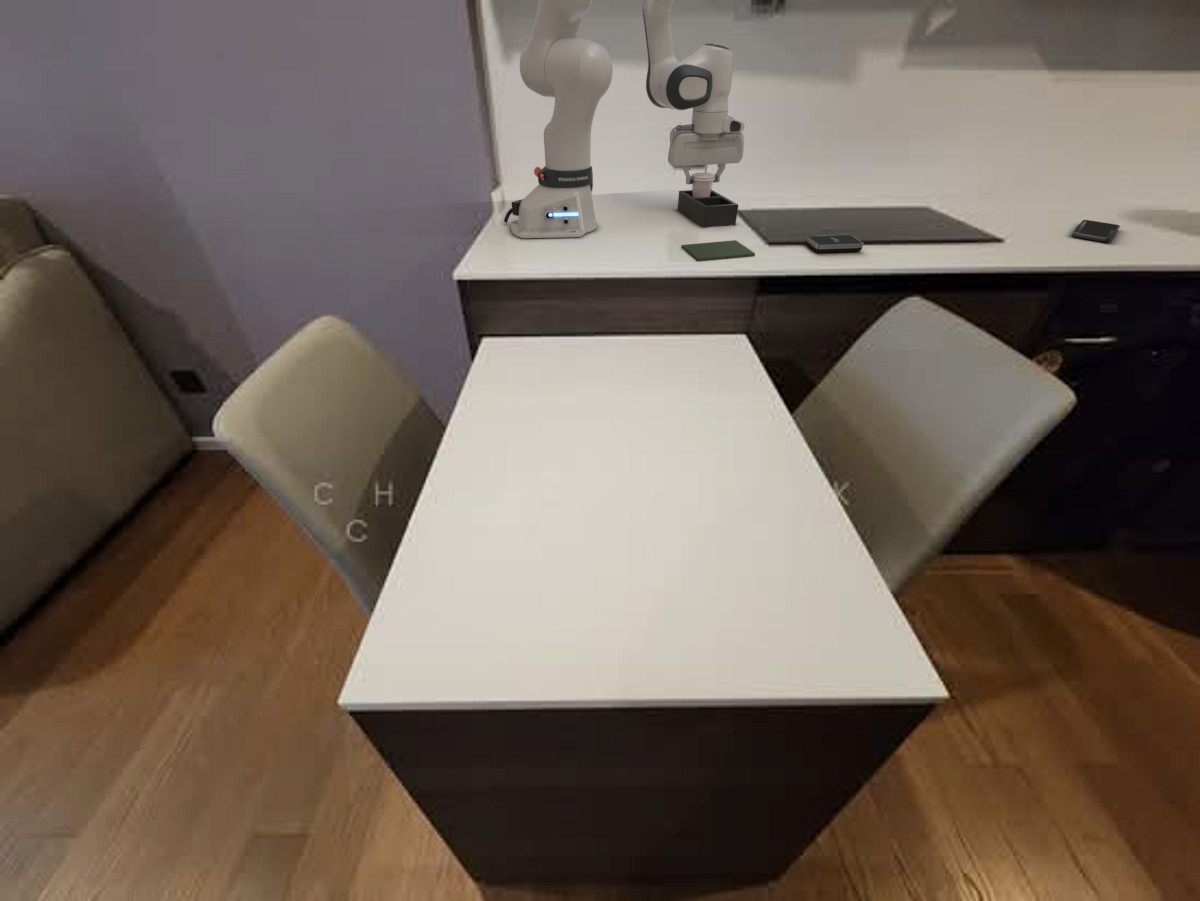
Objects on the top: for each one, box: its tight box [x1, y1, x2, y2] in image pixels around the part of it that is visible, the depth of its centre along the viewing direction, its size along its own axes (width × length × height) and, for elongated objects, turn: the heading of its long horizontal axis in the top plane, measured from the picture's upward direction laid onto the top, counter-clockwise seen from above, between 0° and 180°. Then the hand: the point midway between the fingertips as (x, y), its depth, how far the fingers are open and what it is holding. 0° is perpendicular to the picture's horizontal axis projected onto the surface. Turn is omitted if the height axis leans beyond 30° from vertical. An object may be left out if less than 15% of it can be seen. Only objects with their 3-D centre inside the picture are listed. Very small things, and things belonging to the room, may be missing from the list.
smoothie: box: [691, 165, 715, 198], centre depth 144 cm, size 6×6×14 cm
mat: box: [680, 239, 756, 262], centre depth 122 cm, size 14×10×1 cm
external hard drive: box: [805, 234, 864, 254], centre depth 123 cm, size 7×11×2 cm, turn 95°
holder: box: [677, 189, 739, 228], centre depth 143 cm, size 18×10×5 cm, turn 14°
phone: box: [1071, 219, 1121, 244], centre depth 131 cm, size 8×1×15 cm
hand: (702, 183), depth 144 cm, fingers closed on smoothie, 6 cm apart
